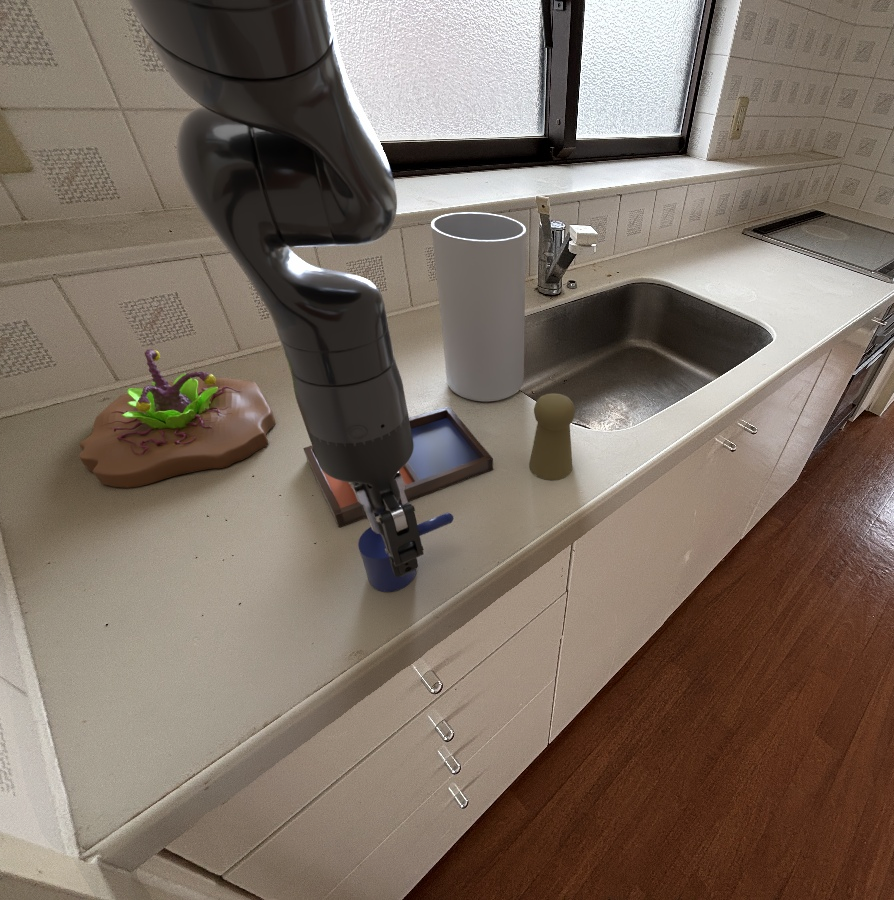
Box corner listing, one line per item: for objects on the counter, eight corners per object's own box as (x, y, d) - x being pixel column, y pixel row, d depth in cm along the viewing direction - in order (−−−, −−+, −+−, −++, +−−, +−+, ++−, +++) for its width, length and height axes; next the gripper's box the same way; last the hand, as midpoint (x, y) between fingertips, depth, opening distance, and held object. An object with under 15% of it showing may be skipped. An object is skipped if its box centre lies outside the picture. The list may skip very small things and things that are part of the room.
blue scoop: (377, 600, 50) (367, 566, 47) (362, 567, 53) (351, 533, 50) (465, 559, 55) (462, 526, 52) (447, 531, 58) (443, 498, 55)
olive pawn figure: (545, 486, 66) (549, 419, 59) (520, 460, 69) (521, 394, 62) (581, 469, 69) (588, 404, 62) (555, 446, 72) (560, 382, 65)
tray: (338, 527, 57) (334, 515, 55) (307, 460, 64) (303, 447, 63) (493, 469, 67) (492, 457, 66) (450, 417, 75) (448, 406, 73)
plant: (271, 380, 77) (246, 312, 70) (280, 457, 64) (251, 384, 57) (102, 406, 68) (54, 331, 61) (75, 501, 55) (10, 420, 48)
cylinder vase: (522, 364, 89) (524, 216, 73) (525, 403, 80) (527, 244, 64) (450, 362, 87) (435, 209, 71) (444, 403, 77) (426, 237, 61)
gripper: (438, 445, 37) (455, 574, 48) (375, 358, 45) (402, 485, 56) (331, 480, 33) (375, 612, 44) (283, 379, 42) (330, 510, 52)
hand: (390, 541), depth 50 cm, fingers open, 8 cm apart
